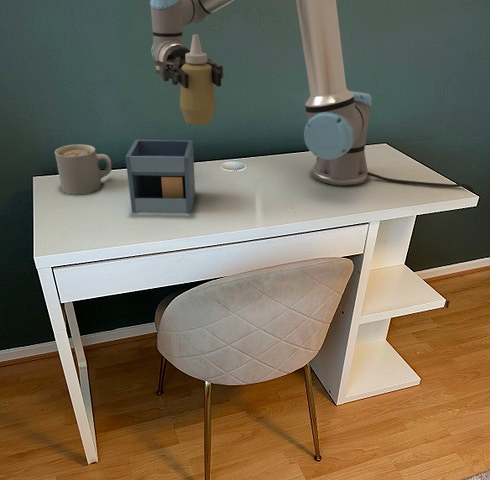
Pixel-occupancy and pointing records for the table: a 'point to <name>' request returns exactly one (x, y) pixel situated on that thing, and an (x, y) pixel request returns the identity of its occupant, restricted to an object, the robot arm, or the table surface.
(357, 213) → the table surface
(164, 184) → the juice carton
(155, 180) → the grey storage cubby
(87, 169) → the coffee mug
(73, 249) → the table surface
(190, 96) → the squeeze bottle
